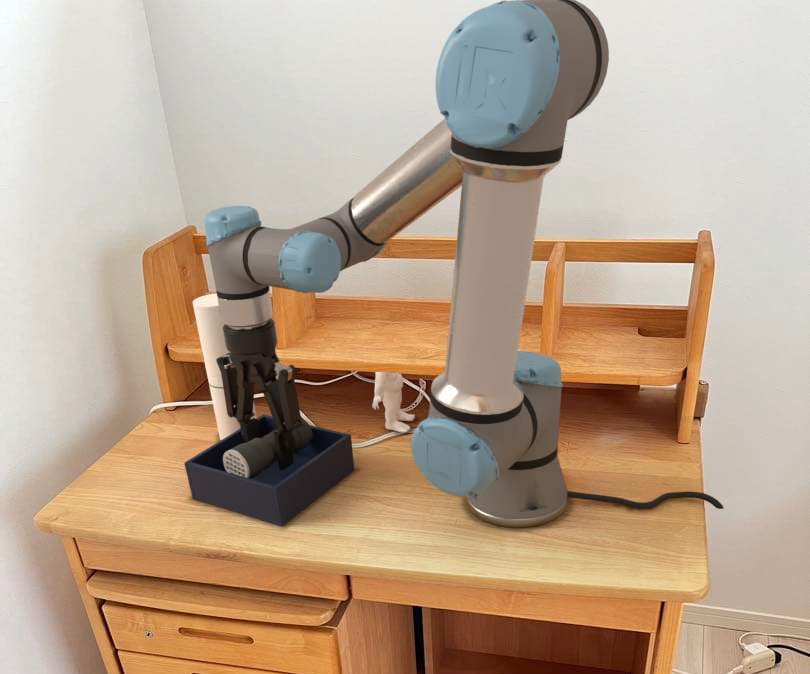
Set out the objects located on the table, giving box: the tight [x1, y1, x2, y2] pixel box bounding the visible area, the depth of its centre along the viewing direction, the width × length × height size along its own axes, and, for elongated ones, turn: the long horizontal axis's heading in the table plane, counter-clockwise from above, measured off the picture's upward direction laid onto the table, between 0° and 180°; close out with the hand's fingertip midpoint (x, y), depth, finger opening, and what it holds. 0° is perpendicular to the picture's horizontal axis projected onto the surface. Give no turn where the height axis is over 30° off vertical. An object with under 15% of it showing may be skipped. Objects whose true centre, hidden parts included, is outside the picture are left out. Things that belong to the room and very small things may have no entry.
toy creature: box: [371, 371, 416, 434], centre depth 147 cm, size 12×6×12 cm, turn 168°
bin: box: [183, 413, 355, 527], centre depth 132 cm, size 18×19×7 cm
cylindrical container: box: [192, 293, 258, 441], centre depth 143 cm, size 7×7×25 cm
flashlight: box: [223, 417, 313, 479], centre depth 131 cm, size 15×5×5 cm, turn 143°
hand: (271, 461), depth 132 cm, fingers closed on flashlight, 6 cm apart
